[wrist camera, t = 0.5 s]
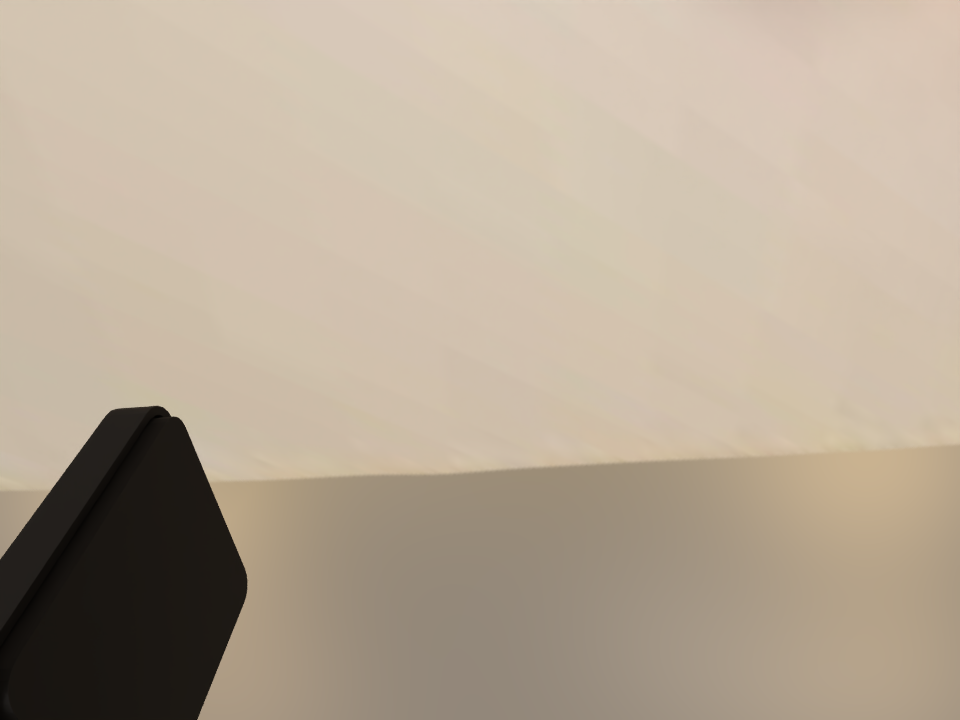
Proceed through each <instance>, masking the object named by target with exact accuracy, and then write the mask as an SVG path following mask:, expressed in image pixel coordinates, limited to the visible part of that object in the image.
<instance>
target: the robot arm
mask: <svg viewBox="0 0 960 720" xmlns="http://www.w3.org/2000/svg"><path fill="white" fill-rule="evenodd" d="M246 594H247V574H246V571H245V568H244V566H243V563H242V561H241V558H240V556H239V554H238V551H237V549H236V546H235V544H234V542H233V539H232V537H231V534H230V532H229V530H228V527H227V525H226V523H225V520H224V518H223V516H222V513H221V511H220V508H219V506H218V503H217V501H216V499H215V497H214V494H213V492H212V489H211V487H210V484H209V482H208V480H207V477H206V475H205V472H204V470H203V468H202V465H201V463H200V461H199V458H198V456H197V453H196V451H195V449H194V446H193V444H192V441H191V439H190V437H189V434H188V432H187V430H186V427H185V425H184V424H183V422H182V421H181V420H180V419H179V418H178V417H171V416H170V414H169V412H168V411H167V410H166V409H164V408H163V407H160V406H149V407H135V408H121V409H115V410H112V411H110V412H109V413H108V414H107V415H106V416H105V418H104V419H103V420H102V422H101V423H100V424H99V426H98V427H97V428H96V430H95V431H94V433H93V434H92V435H91V437H90V438H89V439H88V441H87V442H86V443H85V445H84V446H83V448H82V449H81V450H80V452H79V453H78V454H77V456H76V457H75V458H74V460H73V461H72V463H71V464H70V465H69V467H68V468H67V469H66V471H65V472H64V473H63V475H62V476H61V478H60V479H59V480H58V482H57V483H56V484H55V486H54V487H53V488H52V490H51V491H50V493H49V494H48V495H47V497H46V498H45V499H44V501H43V502H42V503H41V505H40V506H39V508H38V509H37V510H36V512H35V513H34V514H33V516H32V517H31V519H30V520H29V521H28V523H27V524H26V525H25V527H24V528H23V529H22V531H21V532H20V534H19V535H18V536H17V538H16V539H15V540H14V542H13V543H12V544H11V546H10V547H9V548H8V550H7V551H6V553H5V554H4V555H3V557H2V558H1V559H0V720H197V719H198V716H199V714H200V711H201V709H202V706H203V704H204V701H205V699H206V696H207V694H208V691H209V689H210V686H211V684H212V681H213V679H214V676H215V674H216V671H217V669H218V666H219V664H220V661H221V659H222V656H223V654H224V651H225V649H226V646H227V644H228V641H229V639H230V636H231V634H232V631H233V629H234V626H235V624H236V622H237V619H238V617H239V614H240V611H241V609H242V607H243V604H244V601H245V598H246Z"/></svg>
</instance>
